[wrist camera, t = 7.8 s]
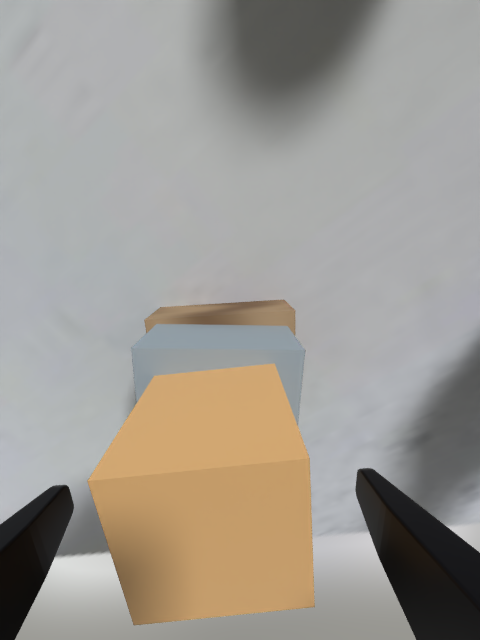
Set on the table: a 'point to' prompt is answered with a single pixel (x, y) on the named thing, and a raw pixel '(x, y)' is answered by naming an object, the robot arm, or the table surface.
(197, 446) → the ochre cube
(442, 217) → the table surface
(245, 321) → the walnut base block
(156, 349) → the slate block
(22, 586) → the robot arm
